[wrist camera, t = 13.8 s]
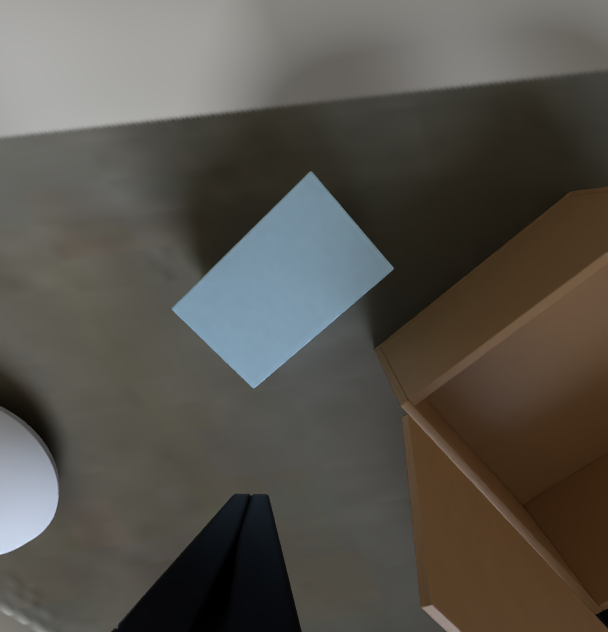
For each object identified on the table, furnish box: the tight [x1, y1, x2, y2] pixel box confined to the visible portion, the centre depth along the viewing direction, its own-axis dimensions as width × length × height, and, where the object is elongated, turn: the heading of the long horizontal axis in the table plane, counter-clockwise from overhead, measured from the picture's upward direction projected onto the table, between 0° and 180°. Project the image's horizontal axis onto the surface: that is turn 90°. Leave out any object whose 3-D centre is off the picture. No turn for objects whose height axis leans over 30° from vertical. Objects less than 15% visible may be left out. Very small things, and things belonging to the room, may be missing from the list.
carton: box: [374, 187, 608, 614], centre depth 17 cm, size 15×13×6 cm
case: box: [172, 171, 394, 388], centre depth 16 cm, size 5×8×5 cm, turn 132°
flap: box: [402, 414, 608, 632], centre depth 11 cm, size 15×6×1 cm
